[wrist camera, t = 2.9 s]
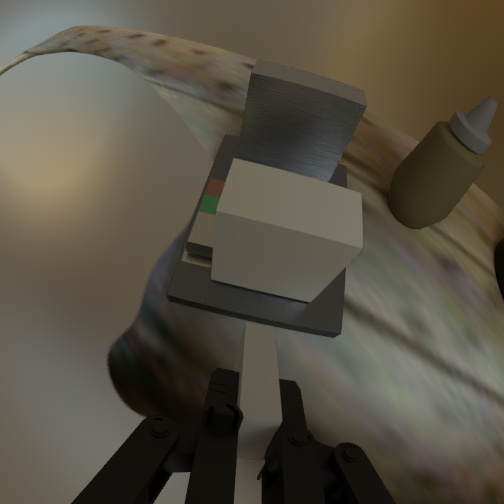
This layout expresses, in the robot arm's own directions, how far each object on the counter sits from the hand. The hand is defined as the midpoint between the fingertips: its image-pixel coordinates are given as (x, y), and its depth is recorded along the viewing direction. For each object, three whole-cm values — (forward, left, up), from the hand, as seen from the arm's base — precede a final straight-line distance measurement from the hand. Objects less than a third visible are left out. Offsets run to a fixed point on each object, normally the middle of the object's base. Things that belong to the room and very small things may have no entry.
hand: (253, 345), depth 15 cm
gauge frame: (0, -13, -7) cm, 15 cm away
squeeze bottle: (-16, -20, -8) cm, 27 cm away
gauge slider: (+1, -9, -6) cm, 11 cm away
